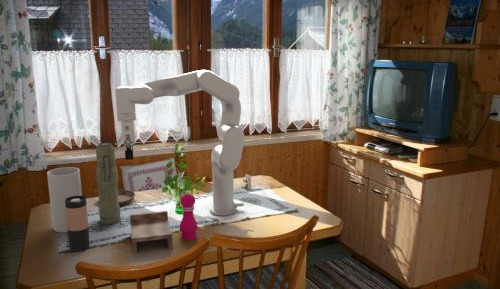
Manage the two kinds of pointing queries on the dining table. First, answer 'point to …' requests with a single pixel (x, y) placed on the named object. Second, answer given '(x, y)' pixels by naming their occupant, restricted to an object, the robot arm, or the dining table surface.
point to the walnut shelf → (150, 228)
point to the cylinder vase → (62, 193)
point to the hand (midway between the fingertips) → (129, 156)
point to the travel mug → (77, 223)
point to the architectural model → (247, 181)
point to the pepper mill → (188, 217)
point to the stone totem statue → (107, 184)
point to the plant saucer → (125, 196)
